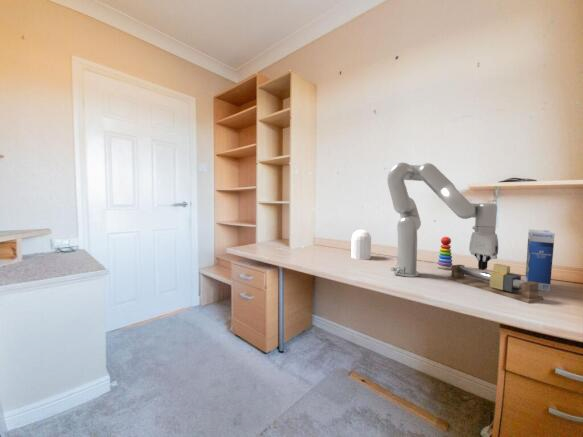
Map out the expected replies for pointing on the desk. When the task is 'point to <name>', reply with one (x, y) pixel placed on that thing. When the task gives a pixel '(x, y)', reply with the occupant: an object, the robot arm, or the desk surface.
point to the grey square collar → (510, 282)
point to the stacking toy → (445, 254)
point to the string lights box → (540, 258)
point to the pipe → (485, 276)
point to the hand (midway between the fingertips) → (482, 269)
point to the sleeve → (498, 275)
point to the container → (361, 245)
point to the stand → (526, 295)
